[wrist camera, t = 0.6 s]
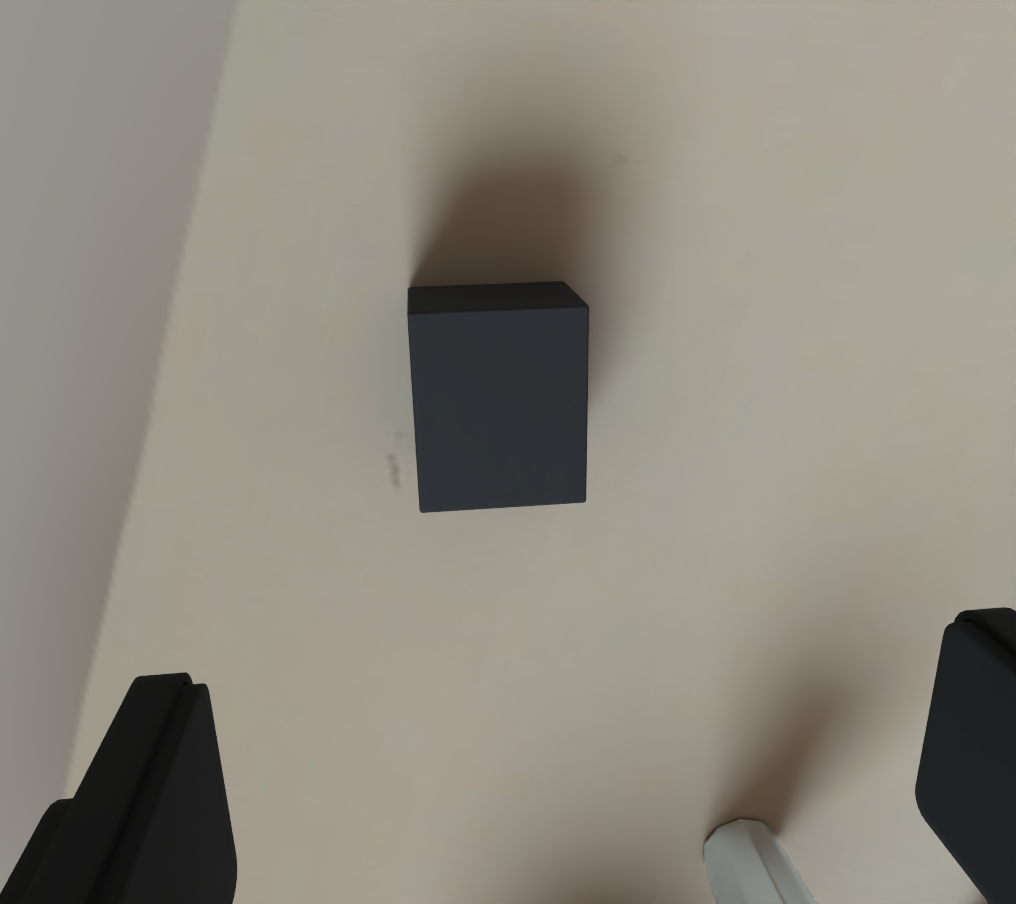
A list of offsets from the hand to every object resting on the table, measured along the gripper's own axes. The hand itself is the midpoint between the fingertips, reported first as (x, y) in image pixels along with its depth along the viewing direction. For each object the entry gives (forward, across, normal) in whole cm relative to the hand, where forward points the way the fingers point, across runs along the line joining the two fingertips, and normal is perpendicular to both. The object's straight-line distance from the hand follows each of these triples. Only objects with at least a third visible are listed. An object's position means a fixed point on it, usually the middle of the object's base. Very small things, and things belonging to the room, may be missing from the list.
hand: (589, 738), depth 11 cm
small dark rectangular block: (+18, 0, 0) cm, 18 cm away
